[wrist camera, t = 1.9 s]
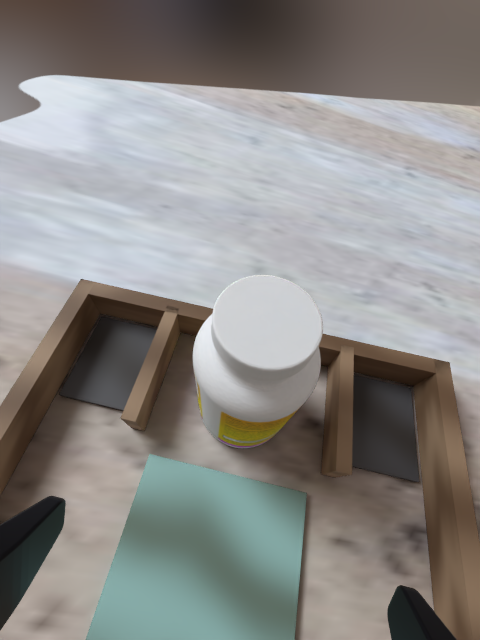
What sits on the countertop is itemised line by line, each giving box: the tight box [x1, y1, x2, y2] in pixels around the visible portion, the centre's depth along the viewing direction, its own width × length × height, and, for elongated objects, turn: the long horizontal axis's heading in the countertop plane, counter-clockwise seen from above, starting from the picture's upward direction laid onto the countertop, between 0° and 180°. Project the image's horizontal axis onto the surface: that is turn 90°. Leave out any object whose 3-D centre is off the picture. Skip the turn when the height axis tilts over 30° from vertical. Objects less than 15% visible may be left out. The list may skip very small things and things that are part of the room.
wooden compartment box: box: [0, 279, 480, 640], centre depth 20 cm, size 21×30×3 cm
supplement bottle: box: [193, 275, 323, 448], centre depth 18 cm, size 7×7×13 cm
